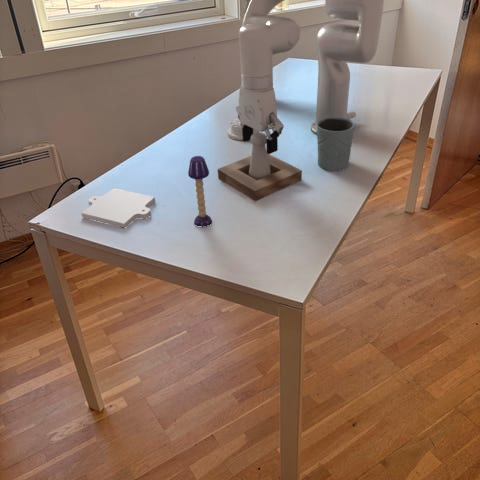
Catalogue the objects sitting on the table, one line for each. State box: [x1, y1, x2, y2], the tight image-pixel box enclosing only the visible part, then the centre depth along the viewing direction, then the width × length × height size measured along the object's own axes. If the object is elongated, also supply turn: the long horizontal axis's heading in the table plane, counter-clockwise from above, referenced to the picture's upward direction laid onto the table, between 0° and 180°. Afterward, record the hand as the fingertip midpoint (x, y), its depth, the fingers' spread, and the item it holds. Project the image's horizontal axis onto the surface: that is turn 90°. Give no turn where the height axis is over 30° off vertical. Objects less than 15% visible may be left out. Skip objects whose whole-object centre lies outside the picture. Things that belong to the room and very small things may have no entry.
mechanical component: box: [226, 118, 259, 141], centre depth 154 cm, size 10×4×10 cm
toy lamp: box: [187, 155, 213, 228], centre depth 109 cm, size 5×5×17 cm
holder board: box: [217, 154, 303, 202], centre depth 129 cm, size 16×16×3 cm
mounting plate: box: [80, 187, 156, 229], centre depth 120 cm, size 18×13×2 cm
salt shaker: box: [249, 132, 271, 180], centre depth 126 cm, size 6×6×13 cm
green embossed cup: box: [316, 117, 356, 172], centre depth 131 cm, size 10×10×12 cm
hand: (259, 146), depth 124 cm, fingers open, 9 cm apart
